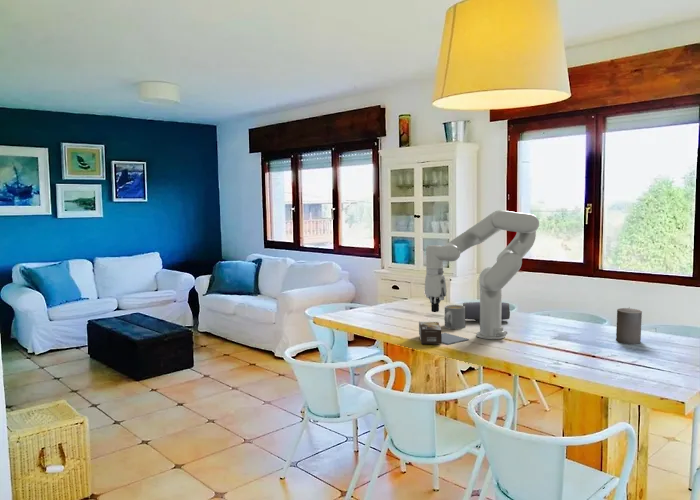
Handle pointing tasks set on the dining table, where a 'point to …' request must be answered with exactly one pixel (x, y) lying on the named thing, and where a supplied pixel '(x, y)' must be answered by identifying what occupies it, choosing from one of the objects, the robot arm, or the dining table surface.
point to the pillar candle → (628, 326)
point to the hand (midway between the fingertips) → (435, 311)
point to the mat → (452, 338)
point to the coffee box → (430, 333)
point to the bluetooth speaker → (474, 311)
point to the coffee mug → (454, 316)
